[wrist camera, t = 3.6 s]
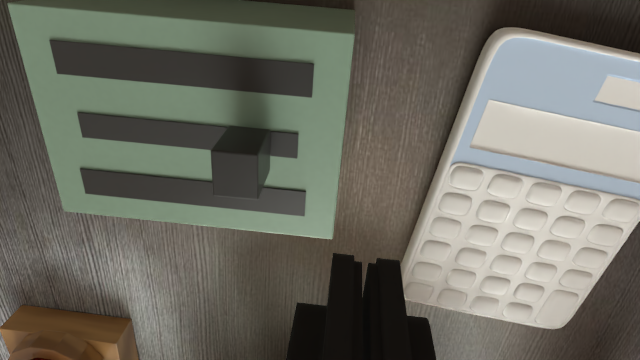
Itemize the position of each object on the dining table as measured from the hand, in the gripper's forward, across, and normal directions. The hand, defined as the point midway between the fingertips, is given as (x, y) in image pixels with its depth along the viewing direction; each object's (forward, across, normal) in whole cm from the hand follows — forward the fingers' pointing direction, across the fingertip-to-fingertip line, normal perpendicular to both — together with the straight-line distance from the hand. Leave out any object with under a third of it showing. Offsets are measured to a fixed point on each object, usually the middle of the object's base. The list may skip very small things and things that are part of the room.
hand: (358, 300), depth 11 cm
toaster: (+17, +8, 0) cm, 19 cm away
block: (+17, +23, +30) cm, 41 cm away
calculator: (+17, -12, +5) cm, 22 cm away
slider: (+9, +5, 0) cm, 10 cm away
